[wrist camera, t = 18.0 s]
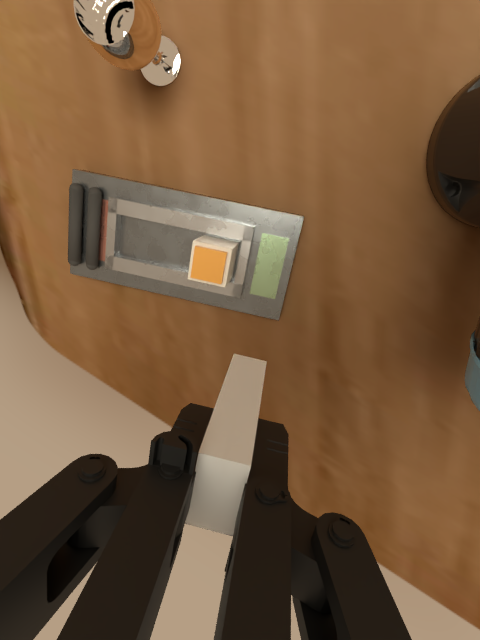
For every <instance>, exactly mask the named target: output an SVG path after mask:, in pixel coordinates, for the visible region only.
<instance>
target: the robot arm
mask: <svg viewBox="0 0 480 640" xmlns="http://www.w3.org/2000/svg"><path fill="white" fill-rule="evenodd" d="M427 174H428V180H429V184H430V187H431V189H432V192H433V194H434V196H435V198H436V199H437V201H438V202H439V204H440V205H441V206H442V207H443V209H444V210H445V211H446V212H448V213H449V214H450V215H451V216H452V217H454V218H456V219H457V220H459V221H461V222H463V223H466V224H468V225H471V226H475V227H480V75H479V76H478V77H476V78H475V79H473V80H472V81H471V82H469V83H468V84H467V85H466V86H465V87H463V88H462V89H461V90H460V91H459V92H458V93H457V94H456V95H455V96H454V98H453V99H452V100H451V101H450V102H449V104H448V105H447V106H446V108H445V109H444V111H443V112H442V114H441V116H440V117H439V119H438V121H437V123H436V125H435V128H434V130H433V133H432V135H431V139H430V142H429V147H428V153H427ZM470 350H471V351H470V355H469V359H468V363H467V367H466V372H465V385H466V388H467V390H468V392H469V393H470V396H471V400H472V402H473V403H474V405H475V406H476V407H477V409H478V410H479V411H480V317H479V321H478V324H477V327H476V330H475V331H474V332H473V333H472V335H471V339H470ZM266 363H267V361H263V360H259V359H255V358H250V357H246V356H242V355H238V354H234V355H233V357H232V360H231V363H230V366H229V369H228V371H227V374H226V377H225V380H224V382H223V385H222V388H221V391H220V394H219V396H218V399H217V402H216V405H215V408H209V407H205V406H201V405H197V404H193V403H190V404H189V405H187V406H186V407H184V408H183V409H182V410H181V412H180V414H179V416H178V418H177V420H176V422H175V424H174V426H173V427H172V429H171V431H169V432H163V433H161V434H159V435H157V436H155V438H154V439H153V440H152V441H151V447H150V455H149V463H148V464H147V465H145V466H141V467H137V468H118V467H117V465H116V462H115V461H114V460H113V459H112V458H110V457H109V456H106V455H102V454H89V455H86V456H82V457H80V458H78V459H76V460H75V461H73V462H72V463H70V464H69V465H68V466H67V467H66V468H64V469H63V470H62V471H61V472H59V473H58V474H57V475H55V476H54V477H53V478H52V479H50V481H48V482H47V483H46V484H44V485H43V486H42V487H41V488H39V489H38V490H37V491H36V492H34V493H33V494H32V495H31V496H29V497H28V498H27V499H26V500H24V501H23V502H22V503H21V504H20V505H18V506H17V507H16V508H14V509H13V510H12V511H11V512H9V513H8V514H7V515H6V516H4V517H3V518H2V519H1V520H0V640H33V639H34V638H35V637H36V635H37V634H38V633H39V632H40V631H41V629H42V628H43V627H44V626H45V624H46V623H47V622H48V621H49V620H50V618H51V617H52V616H53V615H54V614H55V612H56V611H57V610H58V609H59V607H60V606H61V605H62V604H63V603H64V601H65V600H66V599H67V598H68V596H69V595H70V594H71V593H72V592H73V590H74V589H75V588H76V587H77V585H78V584H79V583H80V582H81V581H82V579H83V578H84V577H85V576H86V574H87V573H88V572H89V571H90V570H91V569H92V567H93V566H94V565H95V564H96V562H97V561H98V562H97V564H96V565H95V567H94V570H93V571H92V573H91V575H90V577H89V579H88V581H87V583H86V585H85V587H84V589H83V591H82V592H81V594H80V596H79V598H78V600H77V602H76V604H75V606H74V608H73V610H72V611H71V613H70V616H69V617H68V619H67V621H66V623H65V625H64V627H63V629H62V631H61V633H60V635H59V636H58V638H57V640H150V637H151V634H152V631H153V628H154V624H155V621H156V618H157V615H158V612H159V609H160V605H161V602H162V599H163V596H164V593H165V589H166V586H167V583H168V580H169V577H170V573H171V570H172V567H173V564H174V561H175V558H176V555H177V551H178V548H179V545H180V541H181V537H182V531H183V527H184V524H185V523H186V524H189V525H193V526H196V527H200V528H204V529H207V530H211V531H215V532H219V533H223V534H226V535H230V536H233V540H232V544H231V548H230V552H229V556H228V560H227V564H226V567H225V572H226V574H225V579H224V585H223V590H222V596H221V602H220V607H219V613H218V619H217V624H216V630H215V636H214V640H291V638H290V637H291V595H292V596H293V603H294V608H295V613H296V617H297V622H298V627H299V631H300V636H301V640H412V639H411V637H410V635H409V633H408V630H407V628H406V626H405V624H404V622H403V619H402V617H401V615H400V613H399V610H398V608H397V606H396V604H395V602H394V599H393V597H392V595H391V593H390V590H389V588H388V586H387V584H386V582H385V579H384V577H383V575H382V573H381V571H380V568H379V566H378V564H377V562H376V559H375V557H374V555H373V553H372V550H371V548H370V546H369V544H368V542H367V539H366V537H365V535H364V533H363V532H362V530H361V529H360V527H359V526H358V525H357V524H356V523H355V522H353V521H352V520H351V519H349V518H348V517H346V516H344V515H342V514H337V513H325V514H323V515H322V516H321V517H319V519H318V518H317V517H315V516H313V515H311V514H309V513H308V512H306V511H304V510H303V509H302V508H300V507H299V506H298V505H297V504H296V503H295V502H294V501H293V499H292V498H291V496H290V492H289V491H288V433H287V431H286V429H285V427H284V425H283V424H279V423H275V422H271V421H267V420H263V419H259V418H258V416H259V410H260V403H261V396H262V390H263V383H264V376H265V370H266ZM185 521H186V522H185Z"/></svg>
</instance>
